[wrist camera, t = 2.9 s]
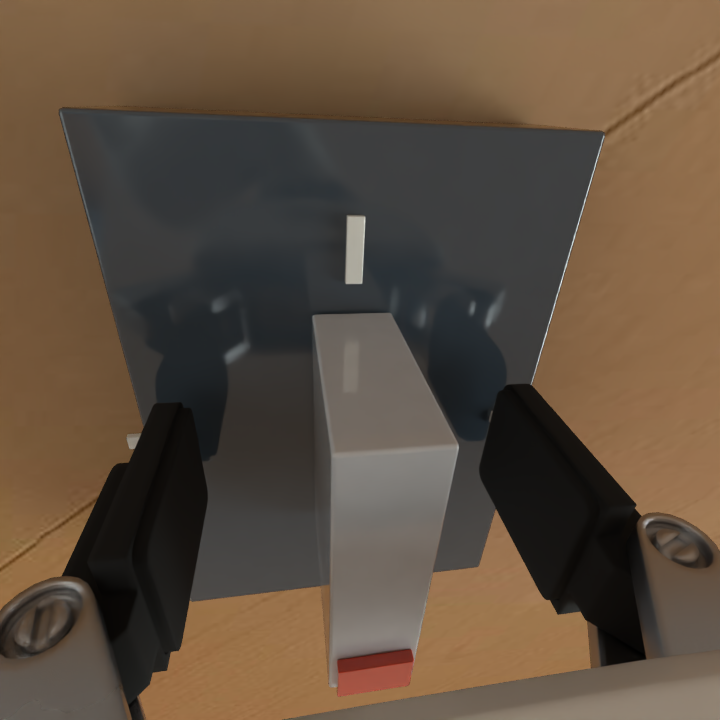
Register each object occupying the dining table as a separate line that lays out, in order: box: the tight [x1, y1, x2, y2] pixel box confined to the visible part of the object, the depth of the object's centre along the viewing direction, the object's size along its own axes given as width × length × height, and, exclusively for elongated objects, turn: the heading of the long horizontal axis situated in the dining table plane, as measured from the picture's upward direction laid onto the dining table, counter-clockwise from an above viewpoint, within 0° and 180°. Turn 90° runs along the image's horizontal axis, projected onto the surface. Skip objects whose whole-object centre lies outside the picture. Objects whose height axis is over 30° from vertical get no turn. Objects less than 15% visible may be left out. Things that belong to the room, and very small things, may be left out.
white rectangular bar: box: [312, 313, 459, 697], centre depth 9 cm, size 6×2×5 cm, turn 177°
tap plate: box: [59, 106, 605, 602], centre depth 13 cm, size 14×11×3 cm
